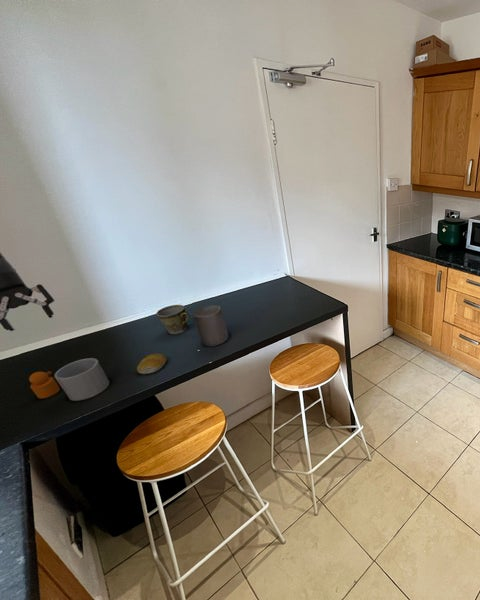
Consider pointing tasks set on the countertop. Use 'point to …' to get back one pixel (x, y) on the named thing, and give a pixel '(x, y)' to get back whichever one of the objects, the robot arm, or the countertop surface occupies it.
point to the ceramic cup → (173, 318)
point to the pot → (82, 379)
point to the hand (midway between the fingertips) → (32, 323)
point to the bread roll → (151, 363)
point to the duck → (43, 384)
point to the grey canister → (211, 325)
